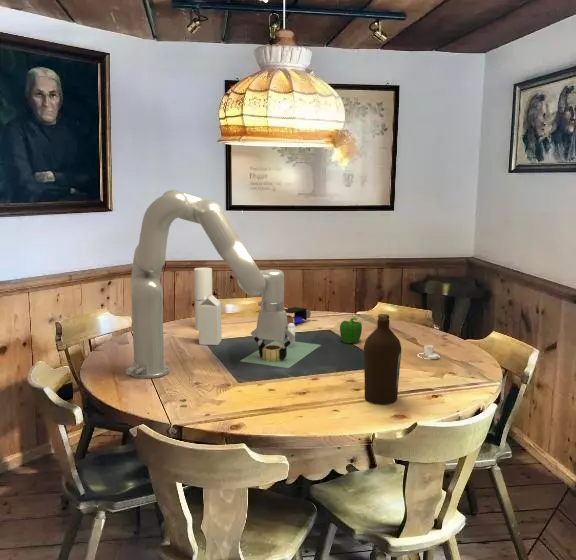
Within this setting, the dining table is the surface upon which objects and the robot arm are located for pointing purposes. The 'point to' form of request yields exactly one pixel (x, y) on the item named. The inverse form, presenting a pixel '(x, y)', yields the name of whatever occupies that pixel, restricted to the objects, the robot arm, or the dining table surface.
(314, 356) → the dining table surface
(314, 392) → the dining table surface
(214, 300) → the milk carton
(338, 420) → the dining table surface
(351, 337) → the bell pepper
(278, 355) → the brass ring
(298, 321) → the figurine character
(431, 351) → the white charger with cable
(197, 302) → the cylindrical container
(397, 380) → the olive oil
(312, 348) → the post board
